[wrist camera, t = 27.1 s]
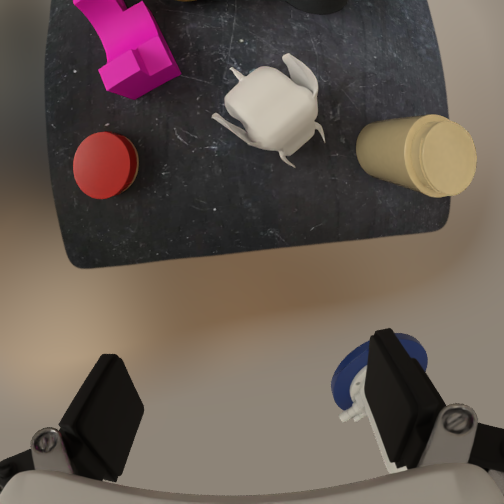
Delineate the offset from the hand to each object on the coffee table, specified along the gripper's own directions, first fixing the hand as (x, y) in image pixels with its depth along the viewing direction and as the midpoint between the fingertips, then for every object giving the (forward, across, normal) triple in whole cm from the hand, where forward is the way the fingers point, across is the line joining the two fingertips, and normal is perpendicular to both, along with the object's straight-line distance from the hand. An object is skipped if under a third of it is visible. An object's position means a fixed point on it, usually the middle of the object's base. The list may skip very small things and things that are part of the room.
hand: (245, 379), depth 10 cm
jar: (+26, -17, -7) cm, 32 cm away
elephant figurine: (+26, -4, -12) cm, 29 cm away
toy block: (+26, +11, -24) cm, 37 cm away
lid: (+23, +16, -9) cm, 30 cm away
